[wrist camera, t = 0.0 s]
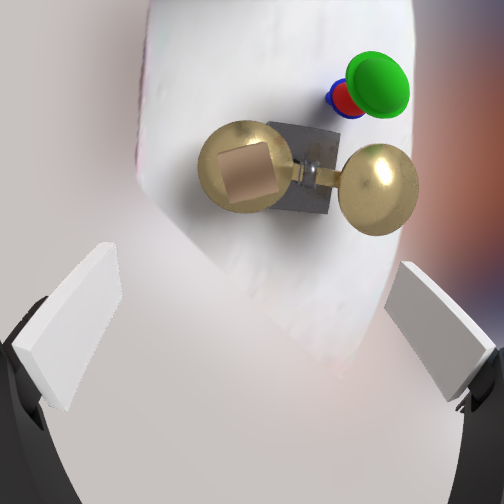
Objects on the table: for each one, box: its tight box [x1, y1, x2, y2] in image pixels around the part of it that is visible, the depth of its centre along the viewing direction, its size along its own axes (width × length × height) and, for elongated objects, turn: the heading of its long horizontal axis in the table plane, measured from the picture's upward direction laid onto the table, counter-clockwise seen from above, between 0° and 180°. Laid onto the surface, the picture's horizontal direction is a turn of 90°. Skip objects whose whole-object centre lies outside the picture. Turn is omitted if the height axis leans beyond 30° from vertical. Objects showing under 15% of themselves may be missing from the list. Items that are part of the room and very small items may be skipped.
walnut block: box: [216, 142, 279, 204], centre depth 28 cm, size 5×5×5 cm
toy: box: [326, 51, 410, 119], centre depth 26 cm, size 8×8×15 cm
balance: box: [198, 120, 419, 236], centre depth 32 cm, size 12×26×11 cm, turn 84°
